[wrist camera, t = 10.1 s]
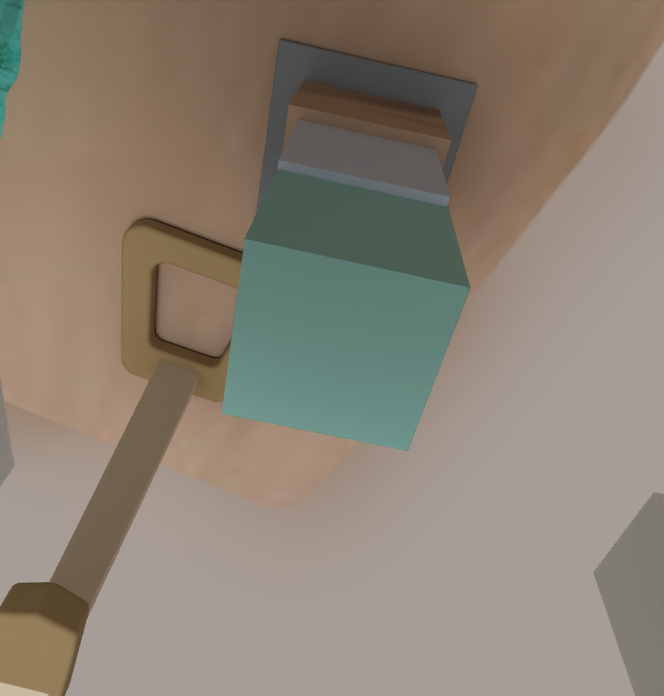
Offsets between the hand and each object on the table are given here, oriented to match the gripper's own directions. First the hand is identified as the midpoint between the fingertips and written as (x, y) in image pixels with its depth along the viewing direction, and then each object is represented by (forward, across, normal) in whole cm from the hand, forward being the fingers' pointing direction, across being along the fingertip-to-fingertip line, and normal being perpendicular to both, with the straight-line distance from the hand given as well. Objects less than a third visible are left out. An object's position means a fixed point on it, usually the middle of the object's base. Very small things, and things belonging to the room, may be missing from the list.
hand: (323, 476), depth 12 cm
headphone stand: (+24, -8, -13) cm, 28 cm away
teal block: (+11, 0, -1) cm, 11 cm away
